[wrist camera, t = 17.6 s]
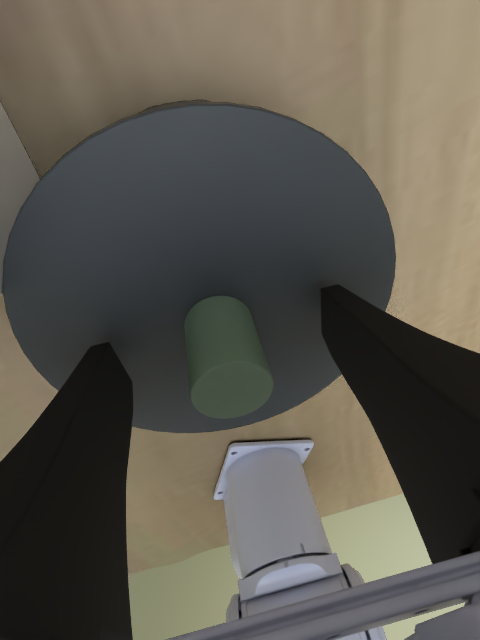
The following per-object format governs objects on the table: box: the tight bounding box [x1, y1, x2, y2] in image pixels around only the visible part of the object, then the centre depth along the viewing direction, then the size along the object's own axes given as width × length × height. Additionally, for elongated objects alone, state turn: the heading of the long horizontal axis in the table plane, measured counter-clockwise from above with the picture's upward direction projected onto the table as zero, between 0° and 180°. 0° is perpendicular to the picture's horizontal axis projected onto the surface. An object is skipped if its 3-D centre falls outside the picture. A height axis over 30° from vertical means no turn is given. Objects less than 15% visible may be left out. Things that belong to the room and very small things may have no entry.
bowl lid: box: [2, 102, 396, 433], centre depth 11 cm, size 13×13×4 cm
